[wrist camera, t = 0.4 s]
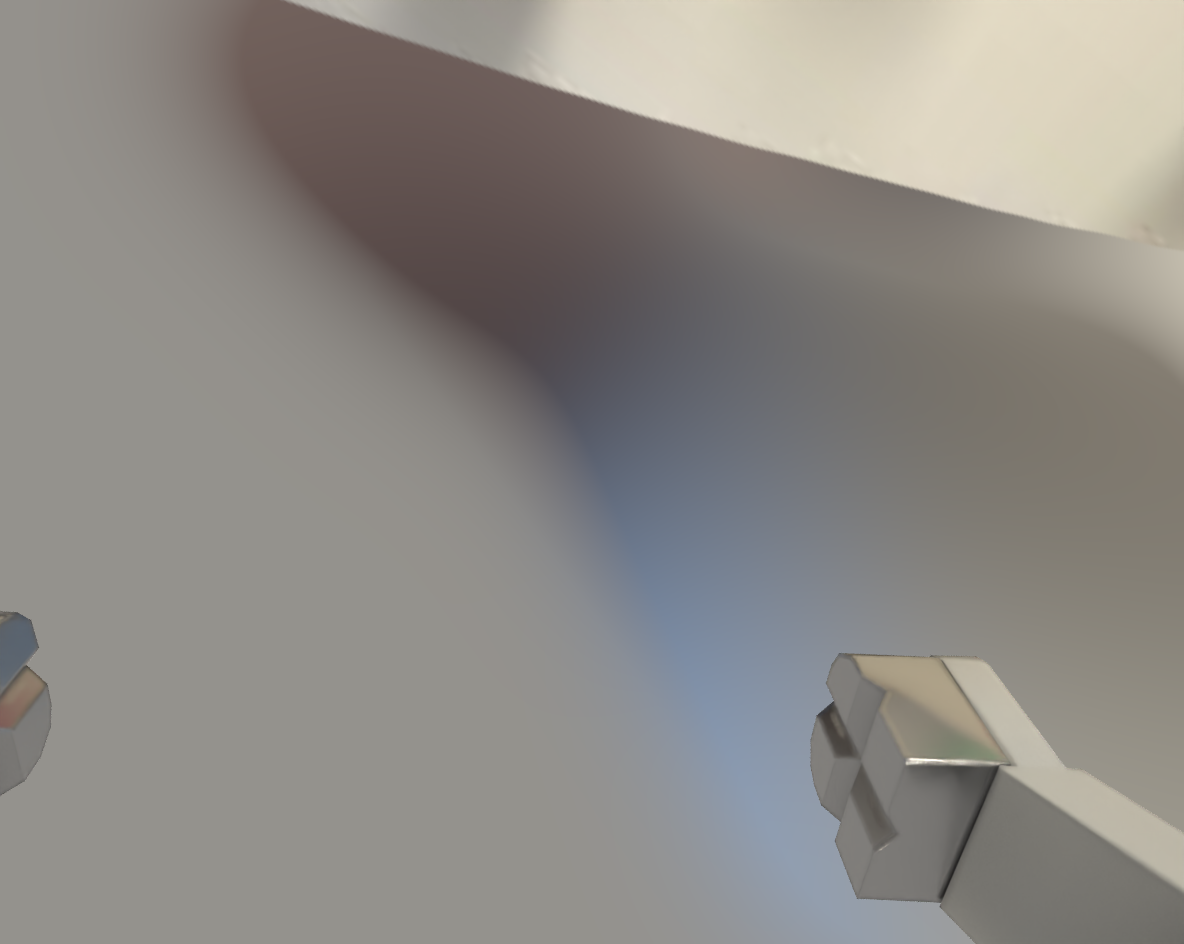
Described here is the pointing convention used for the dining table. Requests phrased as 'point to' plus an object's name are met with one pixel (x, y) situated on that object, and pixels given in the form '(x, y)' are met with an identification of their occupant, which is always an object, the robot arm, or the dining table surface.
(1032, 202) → the dining table surface
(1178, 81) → the dining table surface
